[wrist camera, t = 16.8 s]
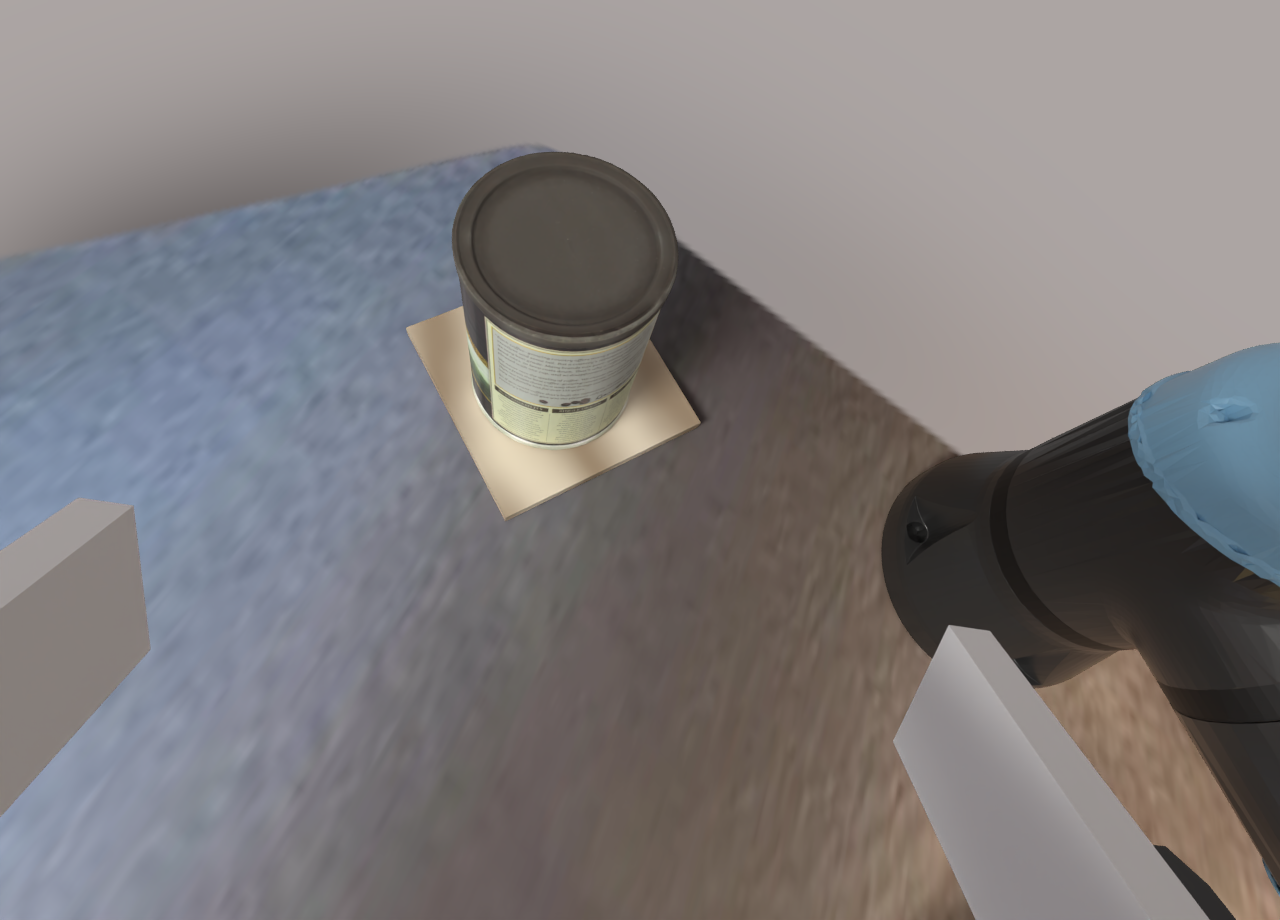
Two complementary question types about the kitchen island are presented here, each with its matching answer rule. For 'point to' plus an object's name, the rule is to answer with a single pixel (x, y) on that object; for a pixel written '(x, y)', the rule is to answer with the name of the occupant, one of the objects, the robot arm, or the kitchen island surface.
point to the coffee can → (560, 292)
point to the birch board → (534, 472)
